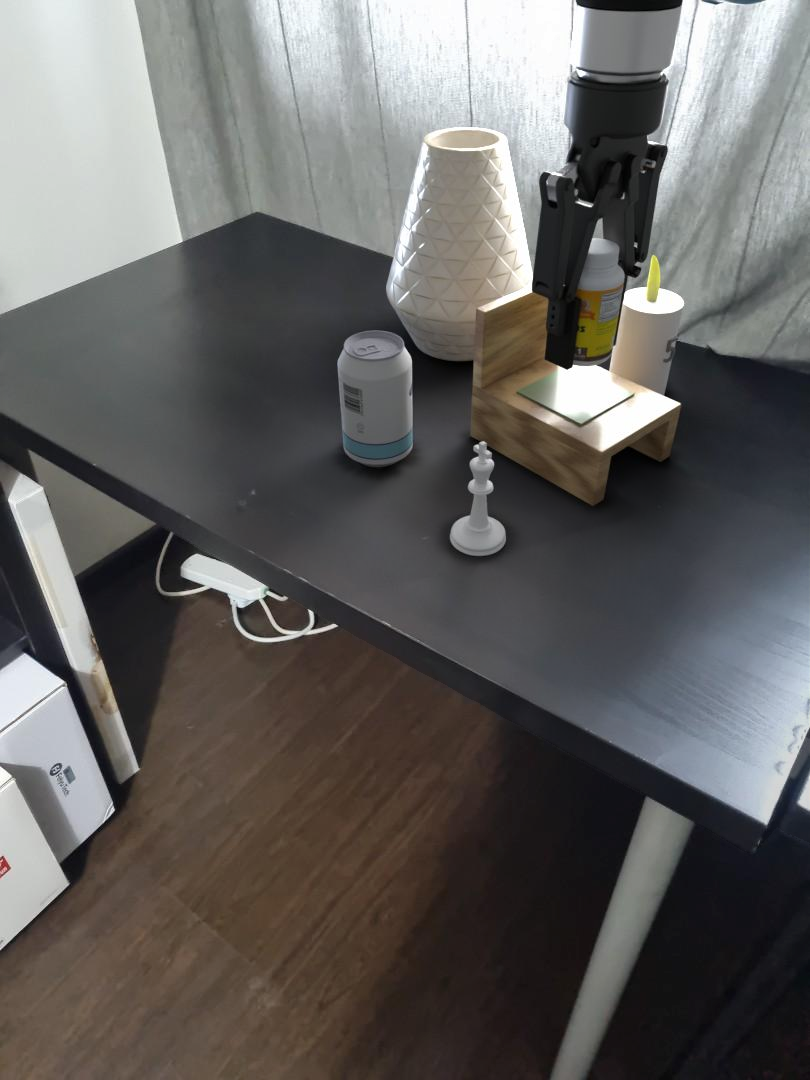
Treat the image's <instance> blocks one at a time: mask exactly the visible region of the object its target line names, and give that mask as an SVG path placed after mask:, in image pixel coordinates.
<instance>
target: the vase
mask: <svg viewBox="0 0 810 1080" xmlns="http://www.w3.org/2000/svg"><path fill="white" fill-rule="evenodd" d="M510 155H511V154H510V149H509V145H508V139H507V137H506V135H504V134H503V133H501V132H498V131H496V130H493V129H489V128H482V127H481V128H480V127H468V126H467V127H465V126H464V127H449V128H448V127H447V128H443V129H437V130H434V131H432V132H428V133H427V134H426V135H424V137H423V138H422V142H421V146H420V150H419V154H418V157H417V161H416V165H415V169H414V173H413V178H412V182H411V185H410V190H409V193H408V198H407V201H406V206H405V209H404V212H403V213H404V214H403V218H402V222H401V226H400V229H399V233H398V237H397V242H396V246H395V250H394V254H393V257H392V262H391V265H390V270H389V273H388V274H389V275H388V277H387V281H386V287H385V289H386V291H385V292H386V297H387V299H388V302H389V303H390V305H391V307H392V308H393V310H394V312H395V313H396V315H397V317H398V318H399V320H400V322H401V323H402V325H403V327H404V328H405V330H406V331H407V333H408V335H409V336H410V338H411V340H412V342H413V343H414V345H415V346H416V347H417V349H419V350H420V351H421V352H422V353H423V354H425V355H427V356H430V357H432V358H434V359H437V360H442V361H450V362H470V361H471V362H472V361H474V345H475V321H476V308H478V307H481V306H483V305H486V304H488V303H490V302H493V301H495V300H497V299H500V298H502V297H504V296H507V295H509V294H512V293H514V292H516V291H519V290H521V289H523V288H526V287H528V286H530V285H532V279H533V269H532V263H531V259H530V253H529V248H528V243H527V237H526V231H525V227H524V222H523V216H522V211H521V206H520V202H519V197H518V192H517V191H518V190H517V186H516V180H515V176H514V171H513V166H512V165H513V164H512V160H511V156H510Z"/></svg>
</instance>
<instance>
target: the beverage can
mask: <svg viewBox="0 0 810 1080" xmlns="http://www.w3.org/2000/svg"><path fill="white" fill-rule="evenodd" d="M337 379H338V389H339V404H340V405H339V406H340V415H341V416H340V417H341V429H342V431H341V432H342V443H343V450H344V452H345V454H346V455H347V456H348V457H349V458H350V459H352V460H354V461H355V462H358V463H360V464H361V465H364V466H367V467H370V468H384V467H388V466H392V465H394V464H396V463H397V462H400V461H401V460H403V459H405V458H406V457H407V456H408V455H409V454H410V453H411V451H412V450H413V447H414V434H413V433H414V429H413V428H414V427H413V425H414V423H413V416H414V415H413V414H414V413H413V360H412V356H411V354H410V353H409V352H408V350H407V348H406V346H405V341H404V340H403V338H402V337H401V336H400V335H398V334H396V333H394V332H390V331H385V330H365V331H361V332H357V333H355V334H352V335H350V336H349V337H347V338H346V339H345V341H344V342H343V349H342V351H341V353H340V354H339V357H338V359H337Z"/></svg>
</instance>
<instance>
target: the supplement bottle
mask: <svg viewBox="0 0 810 1080" xmlns="http://www.w3.org/2000/svg"><path fill="white" fill-rule="evenodd" d="M618 256H619V246H618V245H617V244H616V243H614V242H612V241H609V240H605V239H603V238H598V237H593V238H592V241H591V245H590V248H589V251H588V255H587V258H586V261H585V265H584V268H583V272H582V275H581V278H580V282H579V285H578V288H577V292H576V295H575V297H577V298H580V299H581V307H580V315H579V322H578V330H577V337H576V345H575V353H574V360H573V365H576V366H594V365H596V366H599V365H601V364H603V363H605V362H606V361H608V360H609V359H610V358H611V357H612V351H613V345H614V339H615V333H616V327H617V321H618V315H619V309H620V303H621V297H622V291H623V285H624V278H625V275H624V271H623V270H622V268H621V267H620V266H619V265H618ZM564 285H565V283H564Z"/></svg>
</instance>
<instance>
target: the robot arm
mask: <svg viewBox="0 0 810 1080" xmlns="http://www.w3.org/2000/svg"><path fill="white" fill-rule="evenodd" d="M683 1H684V0H575V7H574V8H575V10H574V19H573V27H572V34H571V35H572V36H571V47H570V55H569V63H570V64H571V65H572V67H574V69H575V70H573V71H571V73H570V74H569V76H567V77H566V86H565V87H566V88H565V96H564V107H563V116H562V120H563V125H564V126H565V127H566V128H567V130H568V131H569V133H570V135H571V140H570V141H571V142H570V146H569V149H568V151H567V154H566V156H565V162H564V165H563V166H562V167H560V168H559V169H558V170H556V171H555V172H551V171H548V170H544V171H543V172H542V173H541V174H540V176H539V179H538V184H539V185H538V187H539V195H540V202H541V203H540V211H539V220H538V228H537V238H536V244H535V253H534V254H535V255H534V262H533V263H534V264H533V270H532V273H533V279H532V292H533V293H536V294H538V295H541V296H543V297H545V298H548V309H547V319H546V320H547V321H546V331H547V340H546V349H545V359H544V360H547V361H549V362H551V363H553V364H555V365H557V366H559V367H562V368H564V369H566V370H568V369H570V368H572V367H573V360H574V353H575V345H576V337H577V330H578V322H579V315H580V307H581V299H580V298H577V297H575V295H576V292H577V288H578V285H579V282H580V278H581V275H582V272H583V268H584V265H585V261H586V258H587V255H588V251H589V248H590V245H591V241H592V238H594V234H595V231H596V227H597V224H598V221H599V220H602V239H605V240H609V241H612V242H614V243H616V244H617V245H618V246H619V256H618V265H619V266H620V267H621V268H622V270H623V271H624V275H625V278H624V285H623V291H622V297H621V303H620V309H619V315H618V321H617V327H616V333H615V339H614V345H613V346H615V345H616V340H617V334H618V328H619V322H620V316H621V310H622V304H623V302H624V297H625V292H626V289H627V284H628V280H629V279H628V278H629V277H631V278H633V279H637V278H638V277H639V276H640V275H641V272H642V267H641V266H638V265H636V264H637V263H640V264H643V263H644V262H645V261H647V258H648V255H649V248H650V242H651V236H652V231H653V223H654V216H655V211H656V210H655V209H656V203H657V196H658V191H659V185H660V177H661V173H662V170H663V167H664V164H665V162H666V160H667V159H666V158H667V156H668V152H669V148H668V147H669V146H668V145H666V144H662V143H658V142H655V141H650V140H649V135H652V134H654V133H656V132H657V131H658V130H659V129H660V127H661V126H662V123H663V118H664V113H665V107H666V103H667V96H668V90H669V83H670V80H669V79H668V77H667V75H666V74H665V73H664V72H665V71H666V70H668V69H670V68H671V67H672V66H673V64H674V60H675V59H674V58H675V53H676V46H677V40H678V33H679V27H680V22H681V21H680V20H681V15H682V7H683ZM700 1H701V2H702V3H707V4H710V5H715V6H716V5H720V4H731V5H736V6H750V5H751V6H752V5H756V4H759V3H760V4H761V3H762V2H765V1H766V0H700ZM581 201H582V202H581ZM583 202H585V203H583ZM587 203H588V204H587ZM590 204H591V205H590ZM635 243H636V245H635ZM564 283H565V285H564Z"/></svg>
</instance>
